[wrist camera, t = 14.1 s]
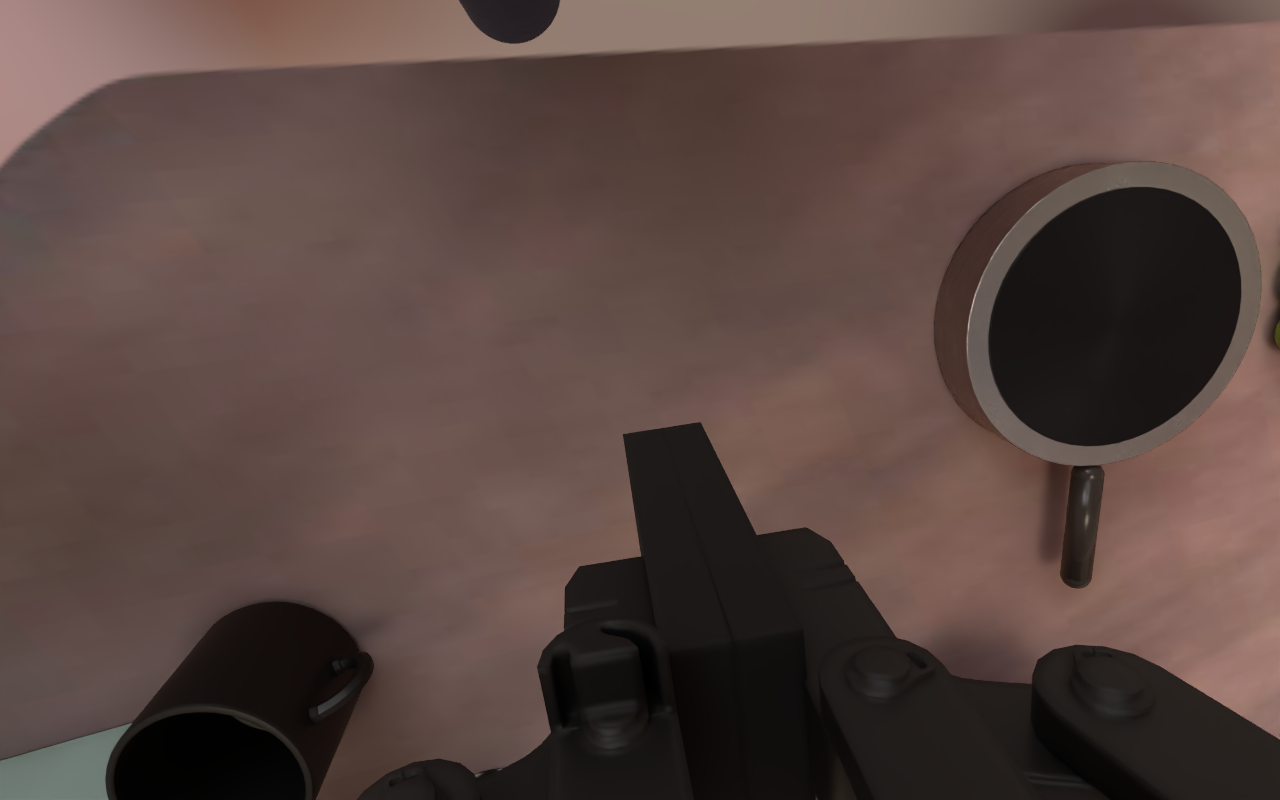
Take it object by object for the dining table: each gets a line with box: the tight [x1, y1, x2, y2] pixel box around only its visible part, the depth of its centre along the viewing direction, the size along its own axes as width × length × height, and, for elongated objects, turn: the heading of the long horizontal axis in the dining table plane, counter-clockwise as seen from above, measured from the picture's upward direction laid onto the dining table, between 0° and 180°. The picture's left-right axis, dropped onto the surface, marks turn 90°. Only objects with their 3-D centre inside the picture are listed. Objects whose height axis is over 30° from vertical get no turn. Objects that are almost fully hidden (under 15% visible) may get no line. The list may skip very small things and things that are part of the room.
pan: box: [935, 161, 1261, 589], centre depth 40 cm, size 24×16×4 cm, turn 4°
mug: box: [105, 602, 374, 800], centre depth 39 cm, size 9×12×9 cm
